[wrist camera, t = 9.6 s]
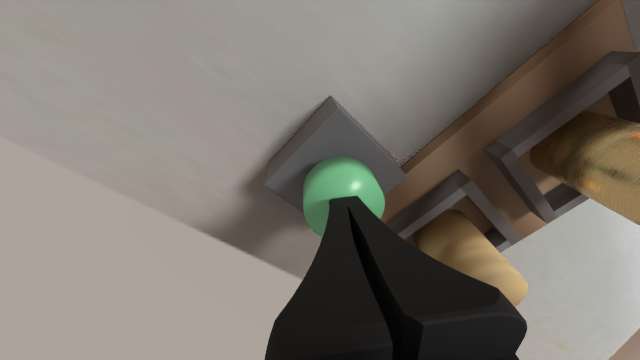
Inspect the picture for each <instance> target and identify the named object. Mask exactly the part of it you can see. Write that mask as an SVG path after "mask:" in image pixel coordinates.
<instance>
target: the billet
mask: <svg viewBox="0 0 640 360" xmlns="http://www.w3.org/2000/svg"><path fill="white" fill-rule="evenodd" d="M530 160H531V163H532V165H533V166H534V167H535V168H536V169H538V170H540V171H542V172H544V173H545V174H547V175H549V176H551V177H553V178H555V179H556V180H558V181H560V182H562V183H564V184H565V185H567V186H569V187H571V188H573V189H575V190H576V191H578V192H580V193H582V194H584V195H585V196H587V197H589V198H591V199H593V200H594V201H596V202H598V203H600V204H602V205H604V206H605V207H607V208H609V209H611V210H613V211H614V212H616V213H618V214H620V215H622V216H623V217H625V218H627V219H629V220H631V221H633V222H634V223H636V224H638V225H640V124H639V123H635V122H631V121H627V120H623V119H619V118H615V117H611V116H607V115H603V114H599V113H595V112H591V111H587V110H583V111H582V112H580V113H579V114H577V115H576V116H575V117H573V118H572V119H571V120H569V121H568V122H566V123H565V124H564V125H562V126H561V127H559V128H558V129H557V130H555V131H554V132H553V133H551V134H550V135H548V136H547V137H546V138H544V139H543V140H541V141H540V142H539V143H537V144H536V145H535V146H533V147H532V148H531V151H530Z"/></svg>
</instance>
